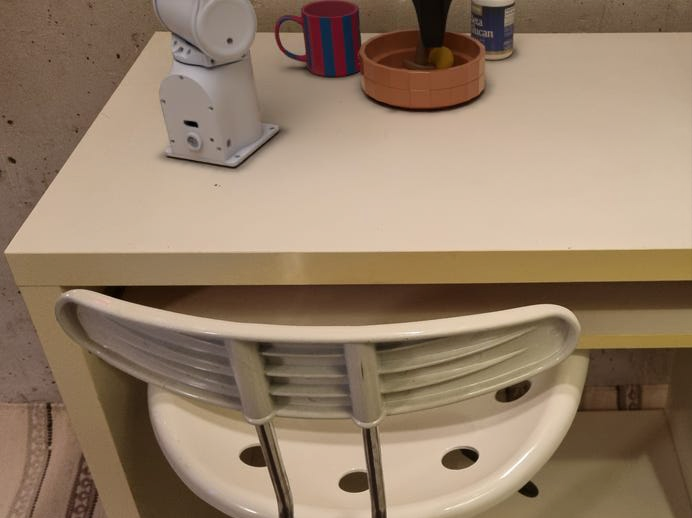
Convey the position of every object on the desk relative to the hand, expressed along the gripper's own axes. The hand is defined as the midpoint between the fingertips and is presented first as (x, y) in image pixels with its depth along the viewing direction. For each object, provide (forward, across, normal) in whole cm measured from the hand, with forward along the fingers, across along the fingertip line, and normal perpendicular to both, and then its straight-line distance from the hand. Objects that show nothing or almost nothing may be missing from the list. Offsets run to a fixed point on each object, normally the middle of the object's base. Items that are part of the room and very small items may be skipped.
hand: (432, 42), depth 97 cm
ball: (+3, +2, -1) cm, 3 cm away
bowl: (+5, -2, +1) cm, 5 cm away
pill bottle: (+5, +10, -7) cm, 13 cm away
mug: (+5, +5, +14) cm, 15 cm away
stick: (+3, -1, +2) cm, 3 cm away
